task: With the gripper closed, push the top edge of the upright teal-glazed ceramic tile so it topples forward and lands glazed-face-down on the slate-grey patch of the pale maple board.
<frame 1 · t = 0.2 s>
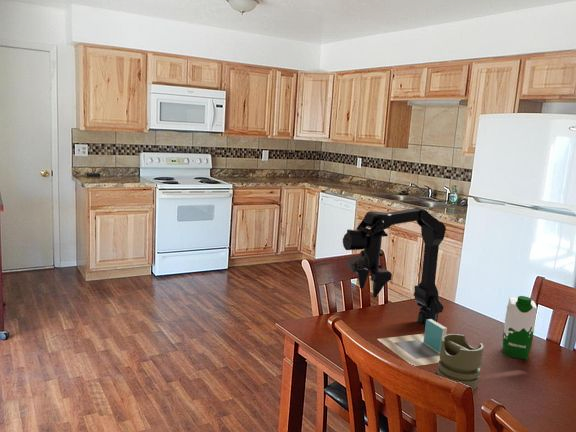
hand: (367, 292, 174), 14 cm above the table, fingers open, 9 cm apart
piston: (456, 381, 146), on the table
tile: (433, 346, 165), point 1 cm above the table, touching board
board: (421, 351, 164), on the table
milk carton: (514, 353, 168), on the table
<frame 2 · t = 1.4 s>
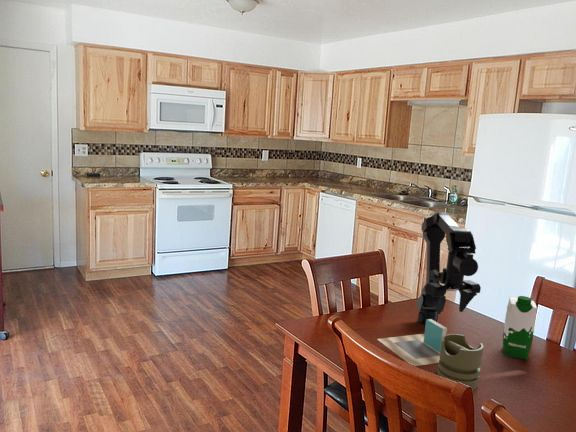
hand: (449, 312, 167), 12 cm above the table, fingers open, 9 cm apart
nothing on the table moved.
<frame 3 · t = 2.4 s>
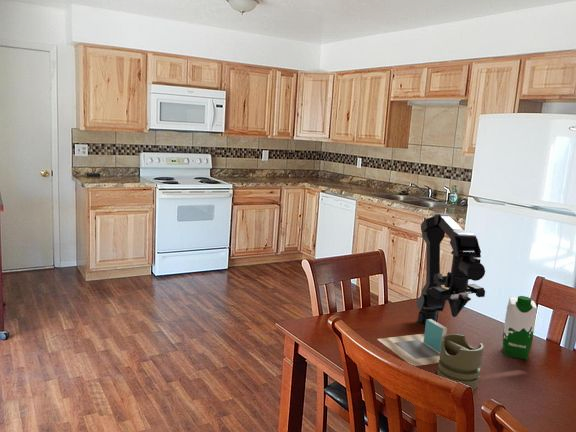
hand: (454, 316, 167), 11 cm above the table, fingers closed
nothing on the table moved.
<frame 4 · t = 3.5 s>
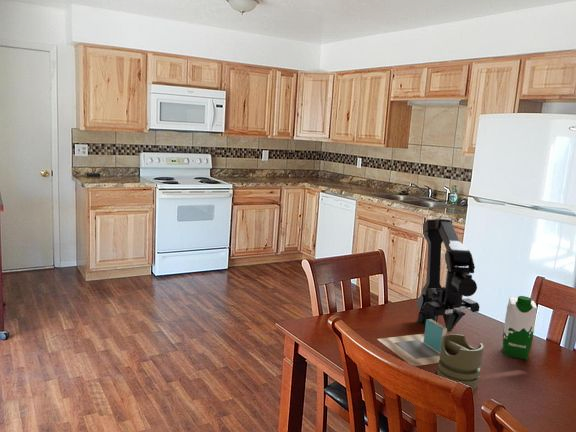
hand: (448, 331, 167), 6 cm above the table, fingers closed
nothing on the table moved.
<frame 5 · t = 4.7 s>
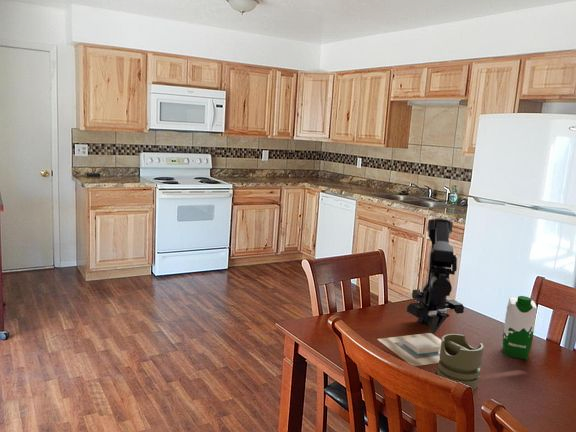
hand: (432, 333, 164), 6 cm above the table, fingers closed
tile: (431, 344, 165), point 2 cm above the table, tilted 90°, touching board
everything else where it was.
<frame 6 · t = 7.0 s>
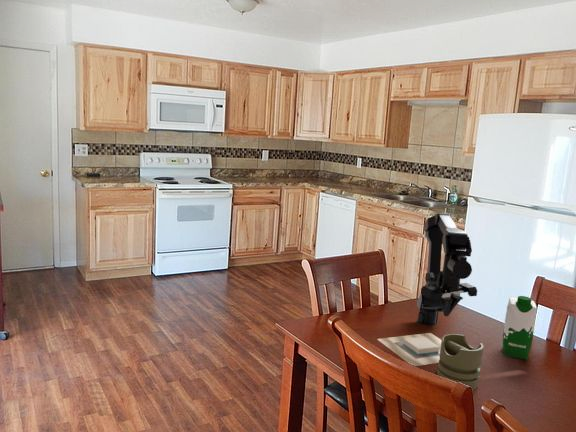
hand: (446, 316, 165), 12 cm above the table, fingers closed
nothing on the table moved.
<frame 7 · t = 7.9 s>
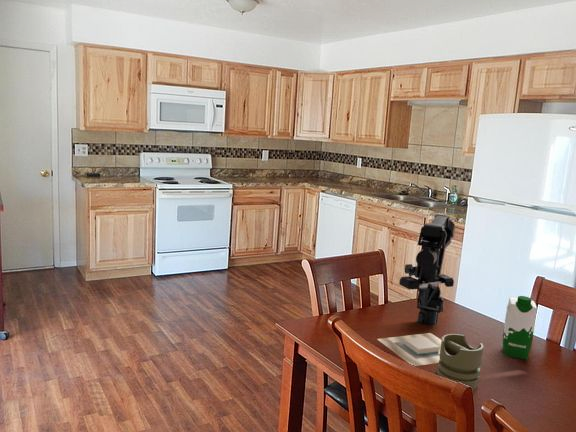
hand: (423, 305, 172), 12 cm above the table, fingers closed
nothing on the table moved.
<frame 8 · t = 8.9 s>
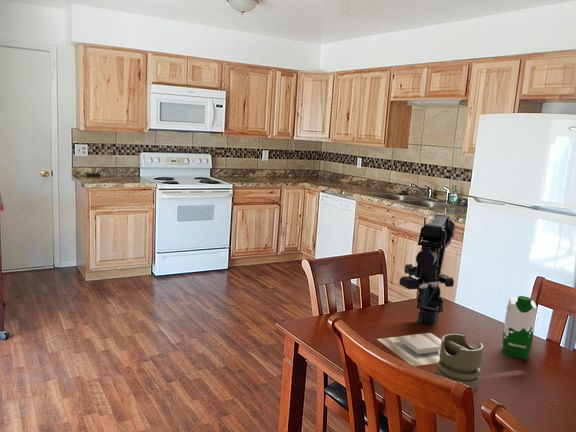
hand: (423, 305, 172), 12 cm above the table, fingers closed
nothing on the table moved.
at the end: tile tilted 90°; tile inside the target area on the board (1.9 cm from its centre), point 2.2 cm above the board's base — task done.
